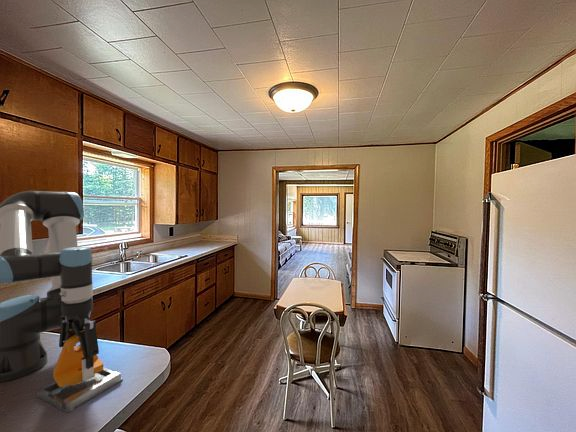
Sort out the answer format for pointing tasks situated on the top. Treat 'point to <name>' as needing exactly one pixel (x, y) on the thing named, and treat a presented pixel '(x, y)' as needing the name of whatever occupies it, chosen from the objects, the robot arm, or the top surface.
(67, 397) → the tray
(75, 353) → the bracket
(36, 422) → the top surface
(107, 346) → the top surface
